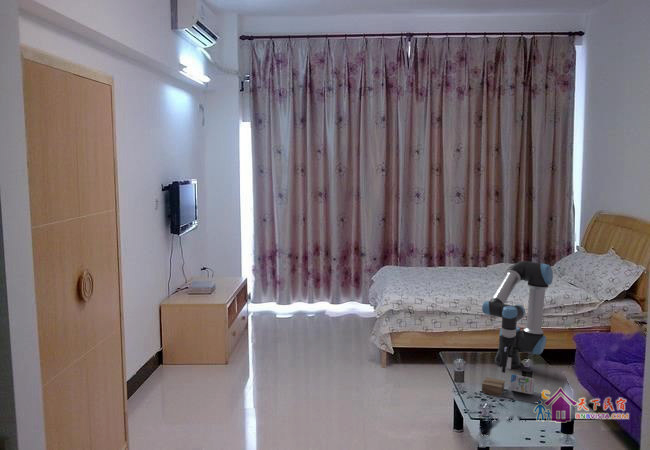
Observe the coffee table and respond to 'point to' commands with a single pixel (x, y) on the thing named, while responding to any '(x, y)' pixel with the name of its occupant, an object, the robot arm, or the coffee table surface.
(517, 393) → the mat
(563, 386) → the coffee table surface
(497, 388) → the walnut step
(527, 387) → the ink box
